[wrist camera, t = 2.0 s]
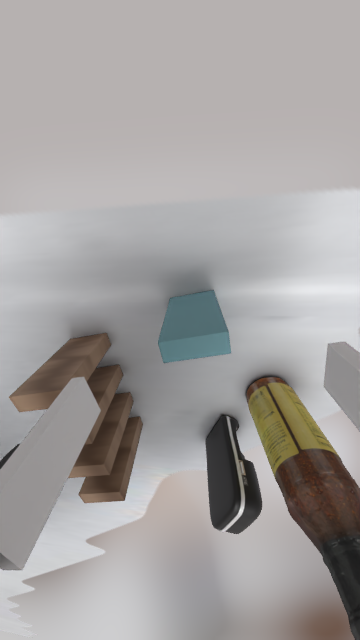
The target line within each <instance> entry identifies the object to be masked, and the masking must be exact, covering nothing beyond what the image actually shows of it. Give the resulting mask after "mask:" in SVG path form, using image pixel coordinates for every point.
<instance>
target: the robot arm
mask: <svg viewBox="0 0 360 640" xmlns="http://www.w3.org/2000/svg"><path fill="white" fill-rule="evenodd" d="M324 388H325V389H326V390H327V391H328V393H329V394H330V395H331V396H332V398H333V399H334V400H335V401H336V403H337V404H338V405H339V406H340V408H341V409H342V410H343V411H344V413H345V414H346V415H347V416H348V418H349V419H350V420H351V421H352V423H353V424H354V425H355V426H356V428H357V429H358V430H359V431H360V353H359V352H358V351H356V350H355V349H354V348H353V347H351V346H350V345H349V344H347V343H346V342H337V343H330V344H328V348H327V358H326V367H325V377H324ZM100 412H101V410H100V408H99V406H98V404H97V402H96V400H95V398H94V396H93V394H92V392H91V390H90V388H89V386H88V384H87V382H86V380H85V378H84V377H77V378H72V379H71V380H70V381H69V383H68V384H67V385H66V386H65V388H64V389H63V390H62V391H61V393H60V394H59V395H58V397H57V398H56V399H55V400H54V402H53V403H52V404H51V405H50V407H49V408H48V409H47V411H46V412H45V413H44V414H43V416H42V417H41V418H40V420H39V421H38V422H37V423H36V425H35V426H34V427H33V428H32V430H31V431H30V432H29V434H28V435H27V436H26V437H25V439H24V440H23V441H22V442H21V444H18V445H17V446H16V447H14V448H13V449H12V450H11V451H10V452H9V453H8V454H7V455H6V456H5V457H4V458H3V459H2V460H1V461H0V568H1V569H2V570H23V568H24V566H25V564H26V562H27V560H28V558H29V556H30V554H31V552H32V550H33V548H34V546H35V544H36V541H37V539H38V537H39V535H40V533H41V531H42V529H43V527H44V525H45V523H46V521H47V519H48V517H49V515H50V513H51V511H52V509H53V507H54V505H55V503H56V501H57V499H58V497H59V495H60V493H61V491H62V489H63V487H64V485H65V483H66V481H67V479H68V477H69V474H70V472H71V470H72V468H73V466H74V464H75V462H76V460H77V458H78V456H79V454H80V452H81V450H82V448H83V446H84V444H85V442H86V440H87V438H88V436H89V434H90V432H91V430H92V428H93V426H94V424H95V422H96V420H97V418H98V416H99V414H100Z"/></svg>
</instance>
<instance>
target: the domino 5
mask: <svg viewBox="0 0 360 640" xmlns="http://www.w3.org/2000/svg"><path fill="white" fill-rule="evenodd" d="M158 345H159V348H160V352H161V355H162V359H163V362H164V363H168V362H174V361H181V360H188V359H195V358H202V357H209V356H216V355H223V354H230V353H231V348H230V340H229V332H228V329H227V326H226V323H225V320H224V318H223V315H222V312H221V309H220V307H219V304H218V301H217V298H216V295H215V293H214V290H211V291H206V292H200V293H195V294H189V295H184V296H178V297H173V298H170V301H169V304H168V308H167V312H166V315H165V319H164V322H163V326H162V329H161V333H160V337H159V340H158Z"/></svg>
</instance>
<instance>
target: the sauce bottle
mask: <svg viewBox="0 0 360 640" xmlns="http://www.w3.org/2000/svg"><path fill="white" fill-rule="evenodd" d="M247 402H248V406H249V410H250V413H251V415H252V418H253V420H254V423H255V426H256V428H257V431H258V434H259V437H260V439H261V442H262V444H263V447H264V450H265V452H266V455H267V458H268V461H269V463H270V466H271V469H272V471H273V474H274V476H275V479H276V481H277V483H278V485H279V487H280V489H281V492H282V493H283V497H284V499H285V502H286V504H287V507H288V511H289V513H290V515H291V516H292V518H293V519H294V520H295V522H297V524H298V525H299V526H300V527H301V529H302V530H303V531H304V532H305V534H306V535H307V536H308V538H309V539H310V540H311V541H312V542H313V544H314V545H315V546H316V548H317V549H318V550H319V551H320V553H321V554H322V556H323V561H324V563H325V564H326V566H327V567H328V569H329V571H330V573H331V576H332V578H333V581H334V583H335V584H336V587H337V589H338V592H339V594H340V597H341V599H342V602H343V604H344V607H345V609H346V612H347V614H348V618H349V624H350V628H351V632H352V634H353V636H354V638H355V640H360V488H359V487H358V485H357V484H356V482H355V480H354V479H353V478H352V477H351V475H350V473H349V472H348V471H347V469H346V468H345V466H344V465H343V463H342V461H341V458H340V457H339V455H338V454H337V453H336V451H335V450H334V448H333V447H332V445H331V444H330V442H329V441H328V440H327V438H326V437H325V435H324V434H323V432H322V431H321V430H320V428H319V427H318V425H317V424H316V422H315V421H314V419H313V418H312V416H311V415H310V414H309V412H308V411H307V409H306V408H305V406H304V405H303V403H302V402H301V400H300V399H299V397H298V396H297V394H296V393H295V392H294V390H293V389H292V388H291V387H289V385H288V384H287V383H286V382H285V381H283V380H282V379H280V378H278V377H266V378H261V379H259V380H257V381H255V382H254V383H253V384H252V385H250V387H249V388H248V390H247Z"/></svg>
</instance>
